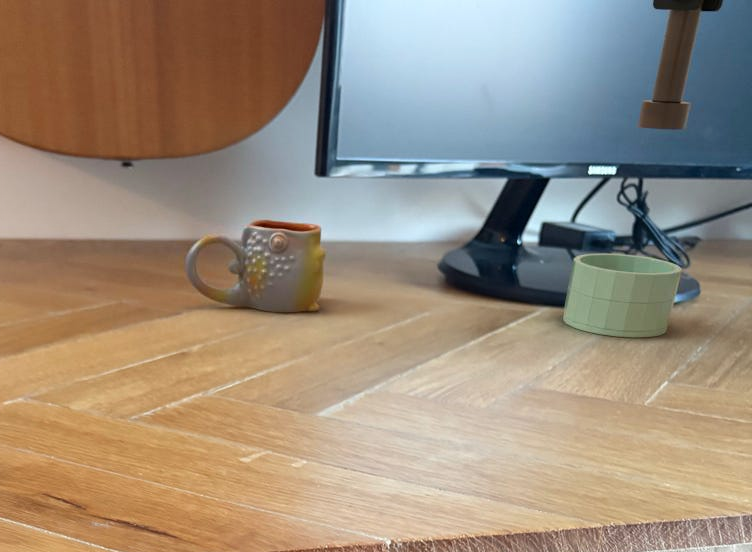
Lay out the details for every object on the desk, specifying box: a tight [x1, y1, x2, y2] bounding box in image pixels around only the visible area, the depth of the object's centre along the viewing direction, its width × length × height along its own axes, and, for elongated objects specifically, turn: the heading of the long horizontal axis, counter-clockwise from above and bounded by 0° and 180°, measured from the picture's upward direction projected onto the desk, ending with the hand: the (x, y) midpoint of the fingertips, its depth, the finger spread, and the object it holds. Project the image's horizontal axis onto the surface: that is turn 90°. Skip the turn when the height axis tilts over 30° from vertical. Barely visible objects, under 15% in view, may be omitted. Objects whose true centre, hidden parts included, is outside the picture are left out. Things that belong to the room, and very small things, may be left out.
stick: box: [637, 0, 704, 131], centre depth 67 cm, size 3×3×13 cm
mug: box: [185, 219, 326, 313], centre depth 84 cm, size 12×7×7 cm, turn 105°
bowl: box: [562, 253, 683, 338], centre depth 84 cm, size 9×9×5 cm
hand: (686, 7), depth 66 cm, fingers closed on stick, 2 cm apart
